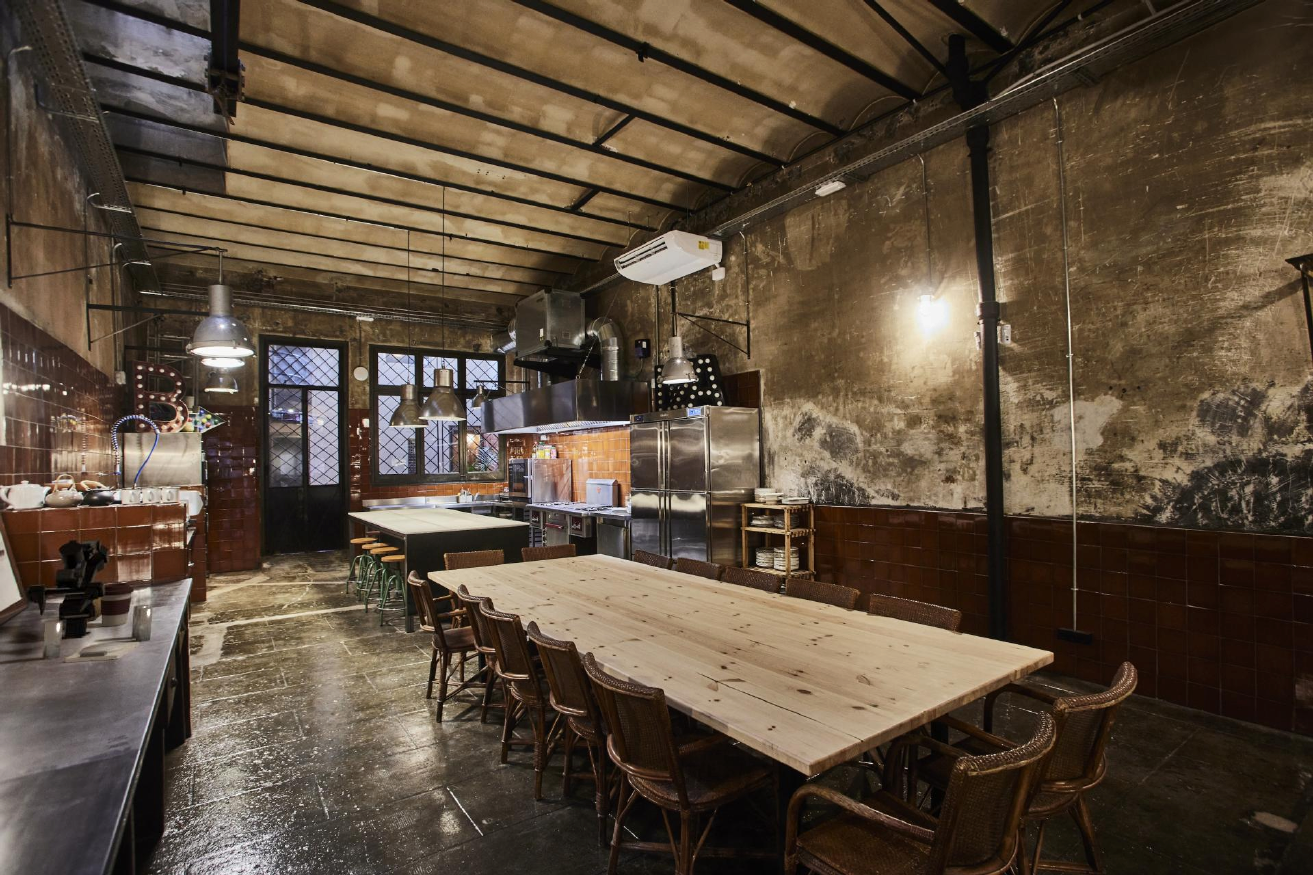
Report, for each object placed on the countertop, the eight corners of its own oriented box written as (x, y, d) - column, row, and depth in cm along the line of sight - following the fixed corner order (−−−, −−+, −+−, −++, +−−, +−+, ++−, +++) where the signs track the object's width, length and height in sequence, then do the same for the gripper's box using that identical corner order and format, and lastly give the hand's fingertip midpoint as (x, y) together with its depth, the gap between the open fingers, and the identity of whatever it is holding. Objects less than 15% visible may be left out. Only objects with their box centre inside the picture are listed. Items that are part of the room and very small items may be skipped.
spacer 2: (134, 636, 221) (136, 605, 222) (147, 635, 223) (150, 604, 223) (129, 639, 218) (131, 607, 218) (143, 638, 219) (145, 606, 220)
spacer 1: (46, 656, 196) (49, 621, 197) (62, 655, 198) (65, 620, 198) (39, 659, 193) (42, 624, 193) (55, 658, 194) (58, 623, 195)
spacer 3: (138, 639, 218) (140, 607, 218) (152, 638, 219) (154, 607, 220) (133, 642, 214) (135, 610, 214) (147, 641, 215) (149, 609, 216)
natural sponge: (86, 624, 236) (88, 597, 236) (68, 622, 237) (70, 596, 238) (111, 618, 244) (113, 593, 245) (94, 617, 246) (96, 591, 247)
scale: (91, 648, 206) (92, 640, 206) (139, 645, 210) (139, 638, 211) (65, 662, 191) (65, 654, 191) (116, 659, 195) (117, 651, 196)
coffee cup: (138, 621, 241) (140, 583, 241) (113, 628, 231) (116, 587, 232) (115, 620, 242) (117, 581, 242) (89, 626, 232) (92, 586, 233)
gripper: (30, 560, 202) (16, 601, 192) (105, 557, 212) (95, 596, 202) (36, 581, 208) (22, 621, 198) (109, 577, 218) (99, 615, 208)
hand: (60, 612), depth 202 cm, fingers open, 9 cm apart
